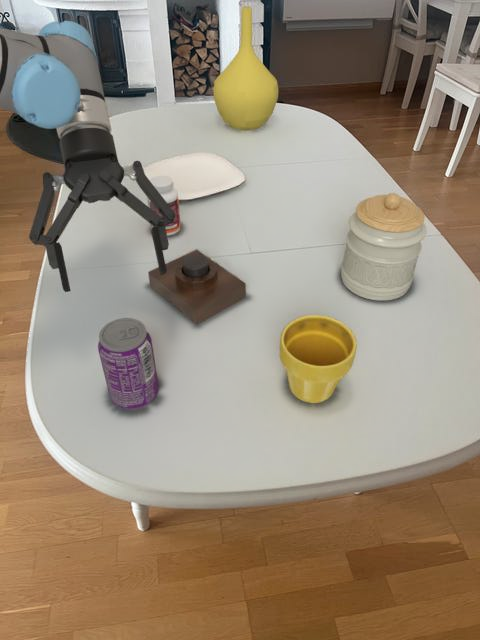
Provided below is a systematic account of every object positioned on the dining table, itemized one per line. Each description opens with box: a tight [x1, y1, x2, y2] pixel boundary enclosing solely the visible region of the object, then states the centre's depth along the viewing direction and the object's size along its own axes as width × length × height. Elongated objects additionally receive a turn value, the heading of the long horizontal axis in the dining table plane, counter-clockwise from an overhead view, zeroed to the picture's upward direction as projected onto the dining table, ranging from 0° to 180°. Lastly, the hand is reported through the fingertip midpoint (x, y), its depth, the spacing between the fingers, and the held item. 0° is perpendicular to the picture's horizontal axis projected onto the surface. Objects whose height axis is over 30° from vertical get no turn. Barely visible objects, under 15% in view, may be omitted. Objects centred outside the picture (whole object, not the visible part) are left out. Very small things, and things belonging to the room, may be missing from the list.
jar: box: [340, 192, 427, 301], centre depth 91 cm, size 13×13×18 cm
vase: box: [212, 6, 279, 131], centre depth 143 cm, size 18×18×30 cm
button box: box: [147, 249, 247, 325], centre depth 92 cm, size 14×11×5 cm
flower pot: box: [279, 314, 358, 404], centre depth 74 cm, size 10×10×10 cm
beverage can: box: [97, 317, 160, 410], centre depth 72 cm, size 7×7×12 cm
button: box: [182, 255, 208, 278], centre depth 90 cm, size 4×4×2 cm
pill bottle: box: [146, 176, 182, 237], centre depth 106 cm, size 6×6×11 cm
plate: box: [143, 151, 246, 201], centre depth 126 cm, size 22×22×2 cm
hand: (116, 281), depth 74 cm, fingers open, 13 cm apart
